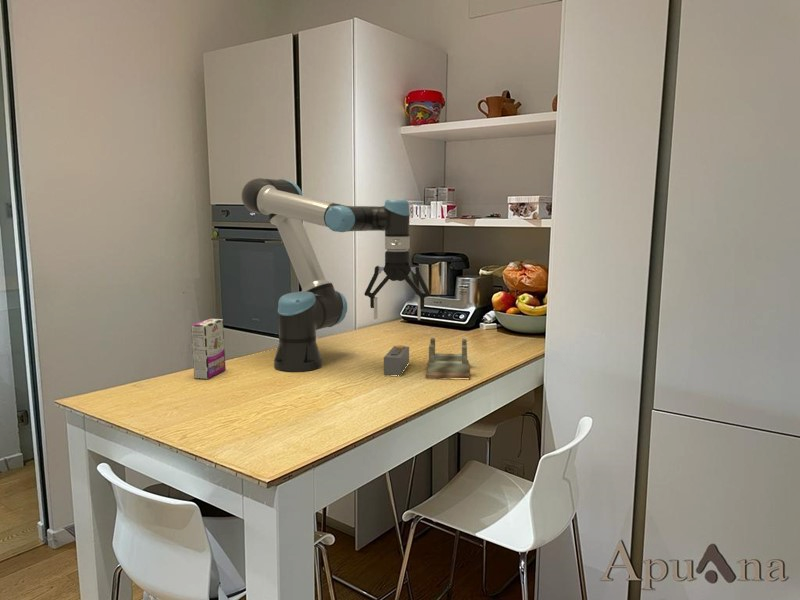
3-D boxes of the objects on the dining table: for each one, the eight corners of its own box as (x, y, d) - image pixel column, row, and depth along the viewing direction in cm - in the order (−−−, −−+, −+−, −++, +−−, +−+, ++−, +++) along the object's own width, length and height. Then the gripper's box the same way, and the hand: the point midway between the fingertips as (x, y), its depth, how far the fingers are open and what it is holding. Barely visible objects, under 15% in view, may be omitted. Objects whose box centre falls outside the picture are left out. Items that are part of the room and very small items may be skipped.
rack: (425, 378, 184) (425, 349, 183) (428, 362, 204) (428, 335, 203) (469, 379, 183) (469, 350, 182) (468, 363, 203) (468, 336, 201)
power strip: (383, 376, 188) (383, 355, 187) (394, 363, 203) (394, 344, 202) (400, 377, 187) (400, 356, 186) (409, 364, 202) (409, 345, 201)
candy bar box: (211, 369, 194) (209, 318, 192) (226, 370, 193) (224, 318, 191) (192, 379, 183) (190, 324, 181) (208, 380, 182) (205, 325, 180)
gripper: (355, 251, 187) (355, 320, 190) (437, 251, 185) (437, 321, 188) (358, 249, 195) (359, 316, 198) (438, 249, 192) (437, 317, 195)
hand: (397, 318), depth 193 cm, fingers open, 13 cm apart
